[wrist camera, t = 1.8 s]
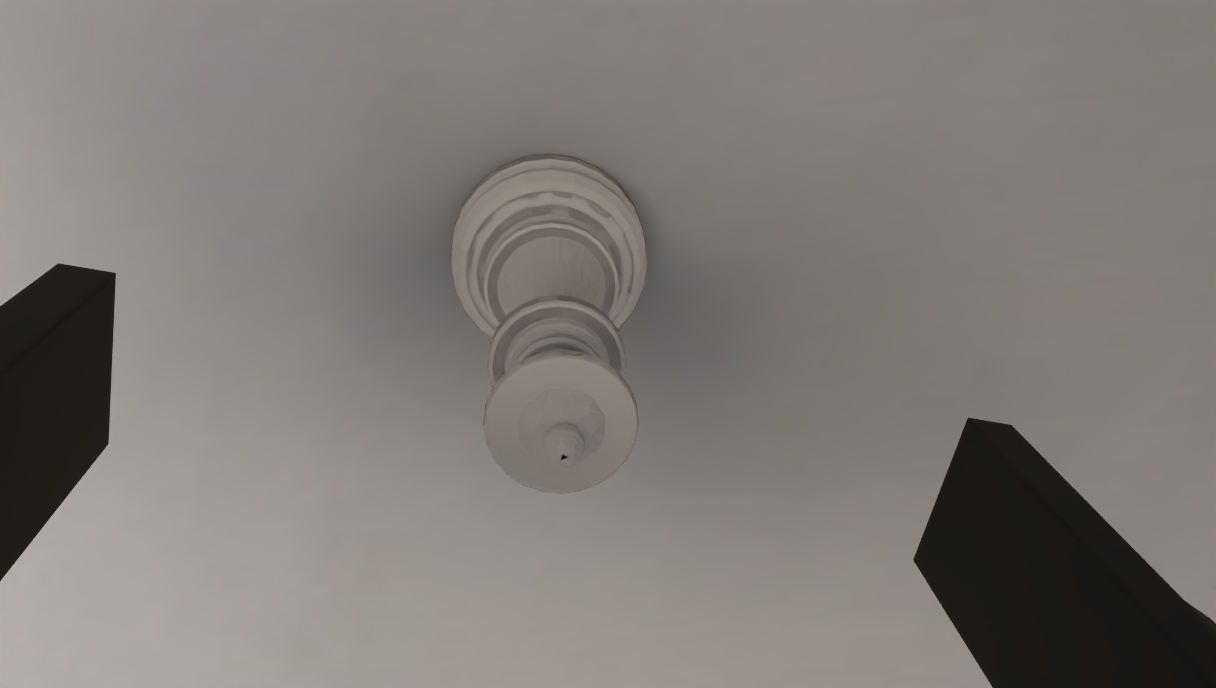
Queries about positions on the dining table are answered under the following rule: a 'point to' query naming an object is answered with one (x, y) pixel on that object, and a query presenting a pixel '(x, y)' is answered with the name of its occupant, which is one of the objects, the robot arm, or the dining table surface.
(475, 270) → the chess piece
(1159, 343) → the dining table surface
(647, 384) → the dining table surface
